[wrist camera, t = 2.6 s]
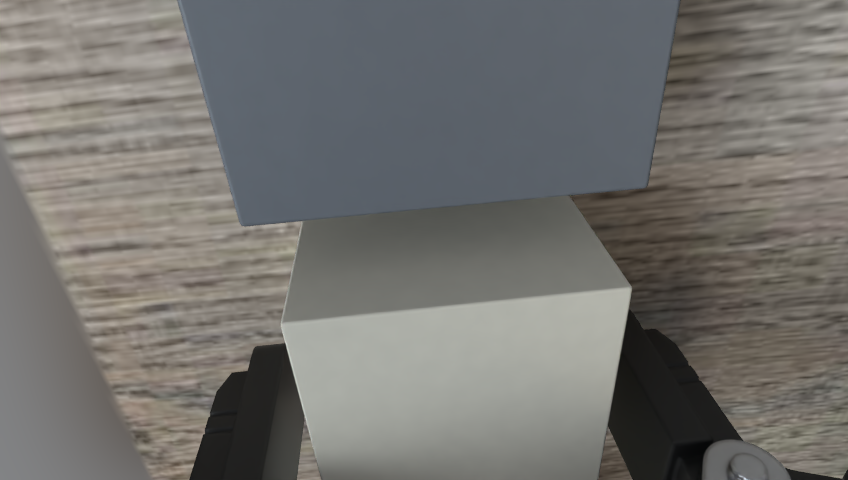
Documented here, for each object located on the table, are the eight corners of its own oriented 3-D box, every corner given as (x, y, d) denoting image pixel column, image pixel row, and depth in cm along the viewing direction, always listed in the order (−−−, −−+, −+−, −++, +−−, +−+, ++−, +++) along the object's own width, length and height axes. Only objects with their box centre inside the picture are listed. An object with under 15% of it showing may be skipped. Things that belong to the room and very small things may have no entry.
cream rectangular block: (307, 192, 11) (279, 324, 7) (553, 169, 11) (634, 288, 8) (357, 448, 15) (354, 605, 12) (534, 428, 15) (581, 577, 12)
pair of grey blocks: (120, -522, 6) (-60, -828, 4) (646, -542, 6) (833, -843, 4) (374, 607, 20) (375, 710, 17) (536, 587, 20) (560, 685, 18)
